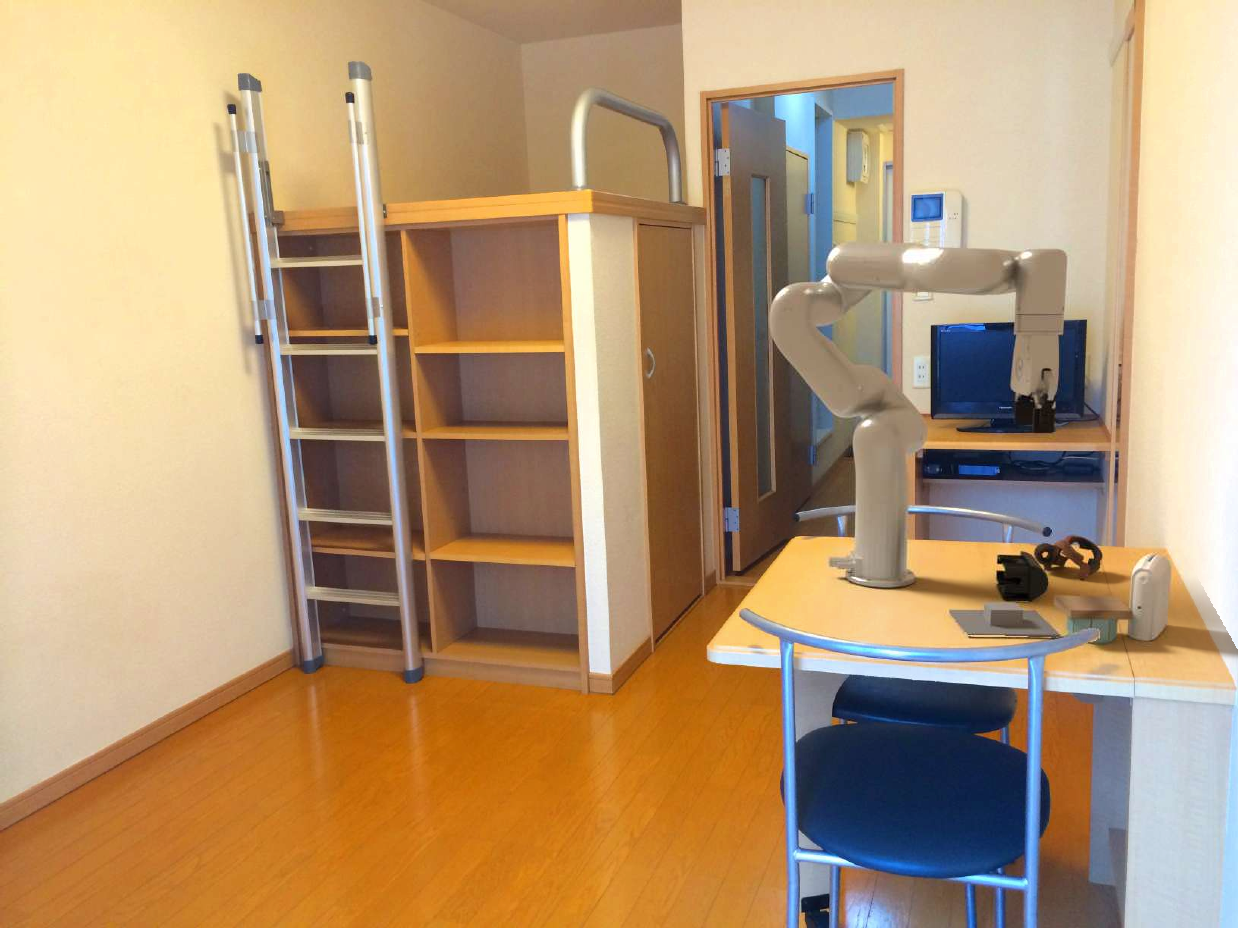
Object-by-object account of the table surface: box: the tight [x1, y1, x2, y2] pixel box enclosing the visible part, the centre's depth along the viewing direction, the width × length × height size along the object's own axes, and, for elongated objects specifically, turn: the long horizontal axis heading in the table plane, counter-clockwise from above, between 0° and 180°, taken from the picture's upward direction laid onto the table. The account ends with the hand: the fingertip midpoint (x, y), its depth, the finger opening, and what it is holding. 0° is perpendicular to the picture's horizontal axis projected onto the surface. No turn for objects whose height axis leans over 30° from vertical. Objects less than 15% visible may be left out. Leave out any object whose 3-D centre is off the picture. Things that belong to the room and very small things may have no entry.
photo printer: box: [1127, 552, 1172, 642], centre depth 159 cm, size 10×4×12 cm, turn 140°
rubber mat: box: [948, 601, 1061, 639], centre depth 164 cm, size 14×12×3 cm
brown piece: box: [1033, 534, 1104, 580], centre depth 191 cm, size 12×10×8 cm
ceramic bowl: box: [1066, 615, 1119, 645], centre depth 158 cm, size 7×7×4 cm
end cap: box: [995, 550, 1050, 603], centre depth 179 cm, size 10×7×7 cm
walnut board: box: [1053, 595, 1133, 621], centre depth 157 cm, size 9×7×1 cm
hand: (1033, 428), depth 170 cm, fingers open, 9 cm apart
